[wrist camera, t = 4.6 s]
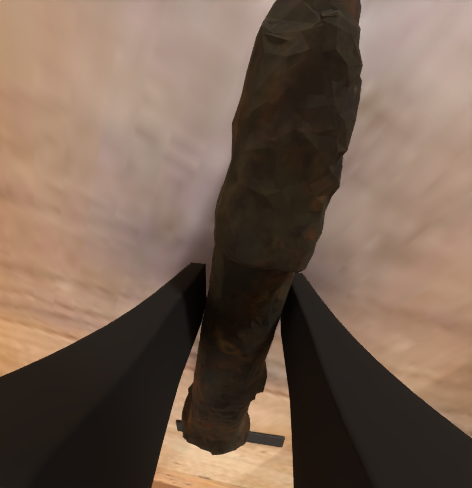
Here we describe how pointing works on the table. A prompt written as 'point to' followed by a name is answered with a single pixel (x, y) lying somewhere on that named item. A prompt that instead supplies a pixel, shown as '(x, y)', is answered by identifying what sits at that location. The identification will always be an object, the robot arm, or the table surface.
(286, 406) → the table surface
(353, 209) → the table surface
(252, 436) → the tape line
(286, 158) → the hand tool
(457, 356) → the table surface
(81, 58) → the table surface
